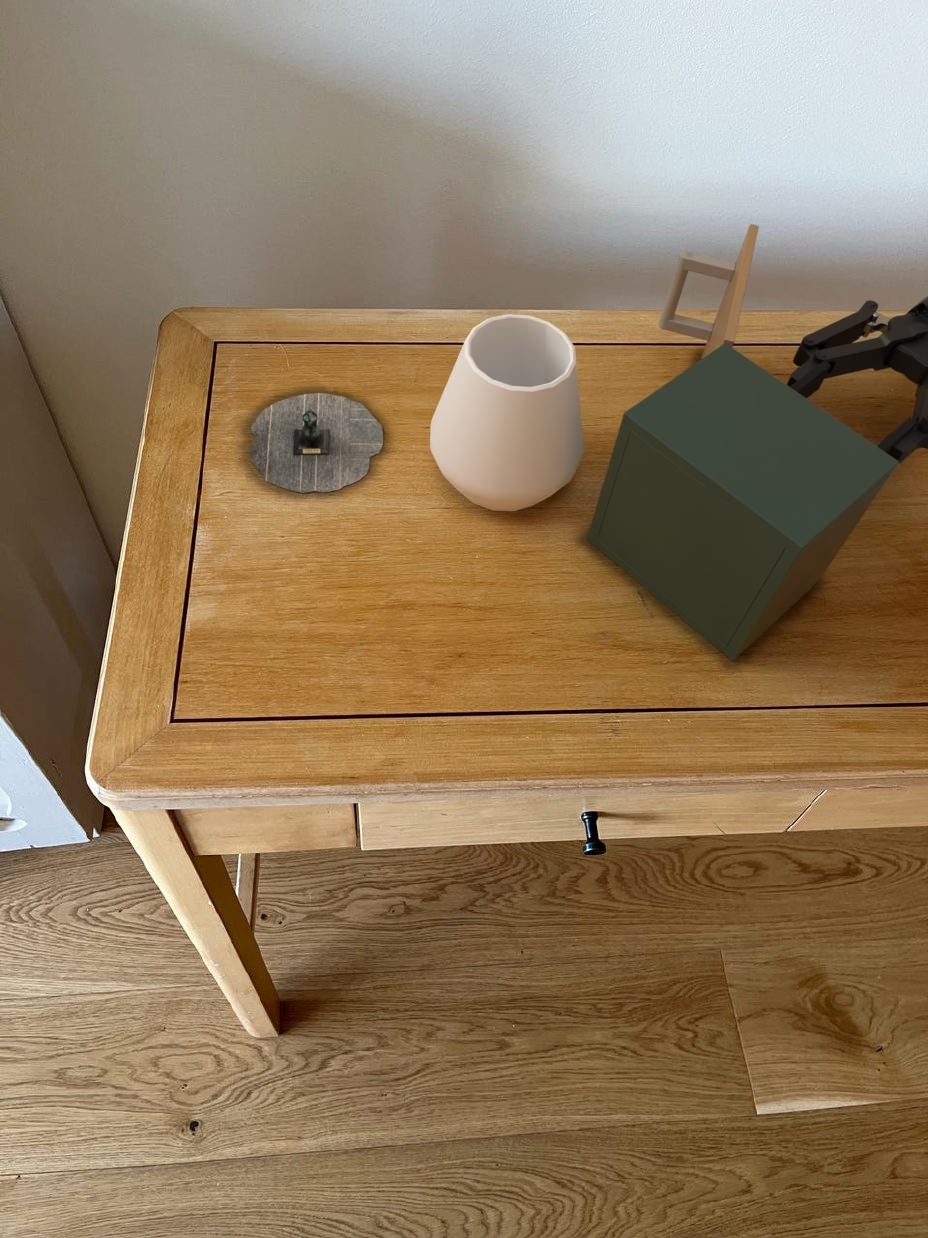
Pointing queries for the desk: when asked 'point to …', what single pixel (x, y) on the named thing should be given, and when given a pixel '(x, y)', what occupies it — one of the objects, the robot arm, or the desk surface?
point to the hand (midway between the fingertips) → (819, 438)
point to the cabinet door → (731, 301)
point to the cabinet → (732, 496)
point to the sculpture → (315, 442)
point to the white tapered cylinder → (510, 414)
